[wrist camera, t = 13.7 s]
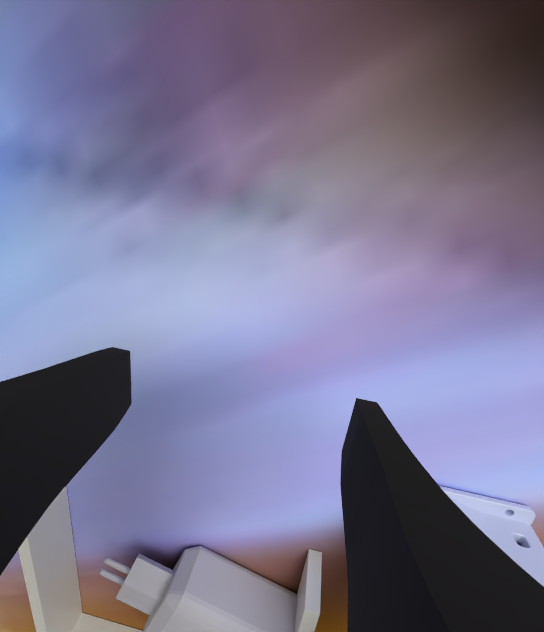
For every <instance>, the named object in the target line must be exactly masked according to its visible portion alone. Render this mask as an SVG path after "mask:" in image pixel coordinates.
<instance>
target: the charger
mask: <svg viewBox="0 0 544 632" xmlns="http://www.w3.org/2000/svg"><path fill="white" fill-rule="evenodd" d="M104 563H105V564H107V565H109V566H111V567H113V568H115V569H117V570H119V571H121V572H123V573H125V574H127V575H128V576H127V578H126V579H123V578H121V577H119V576H117V575H115V574H113V573H111V572H109V571H107V570H105V569H101V570H100V572H99V574H100V575H101V576H103V577H105V578H107V579H109V580H111V581H113V582H115V583H117V584H119V585H121V586H122V587H121V589H120V591H119V593H118V595H117V597H116V599H118V600H120V601H122V602H124V603H126V604H128V605H130V606H132V607H134V608H136V609H138V610H140V611H142V612H144V613H146V614H148V615H149V617H148V620H147V622H146V624H145V627H144V629H143V631H142V632H294V628H295V617H296V606H297V594H296V593H294V592H292V591H290V590H288V589H286V588H284V587H282V586H280V585H278V584H276V583H274V582H272V581H270V580H268V579H266V578H264V577H262V576H260V575H258V574H256V573H254V572H252V571H250V570H248V569H246V568H244V567H242V566H240V565H238V564H236V563H234V562H233V561H231V560H229V559H227V558H225V557H223V556H221V555H219V554H217V553H215V552H213V551H211V550H209V549H207V548H205V547H203V546H196V547H192V548H188V549H185V550H184V552H183V554H182V555H181V557H180V559H179V560H178V562H177V563H176V565H175V567H174V568H173V570H171V569H169V568H167V567H165V566H163V565H161V564H159V563H157V562H155V561H153V560H151V559H149V558H147V557H145V556H143V555H141V554H139V555H138V556H137V558H136V560H135V562H134V564H133V566H132V568H129V567H127V566H125V565H123V564H121V563H119V562H117V561H115V560H113V559H111V558H109V557H107V558H106V559H105V561H104Z"/></svg>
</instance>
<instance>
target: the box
mask: <svg viewBox="0 0 544 632" xmlns="http://www.w3.org/2000/svg"><path fill="white" fill-rule="evenodd" d="M18 551H19V555H20V560H21V564H22V569H23V574H24V578H25V583H26V587H27V592H28V596H29V601H30V605H31V610H32V614H33V619H34V623H35V628H36V632H142V630H138V629H135V628H132V627H128V626H125V625H121V624H118V623H115V622H111V621H108V620H105V619H101V618H98V617H95V616H91V615H88V614H84V613H83V612H82V605H81V597H80V589H79V581H78V573H77V565H76V557H75V549H74V541H73V534H72V526H71V518H70V510H69V502H68V494H67V486H65V487H64V488H63V490H62V491H61V492H60V493H59V494H58V496H57V497H56V498H55V499H54V501H53V502H52V503H51V504H50V506H49V507H48V508H47V510H46V511H45V513H44V514H43V515H42V517H41V518H40V519H39V521H38V522H37V524H36V525H35V526H34V528H33V529H32V530H31V532H30V533H29V535H28V536H27V537H26V539H25V540H24V542H23V543H22V545H21V546H20V547H19V549H18ZM321 568H322V552H319V551H315V550H311V549H309V550H308V554H307V558H306V562H305V566H304V569H303V573H302V577H301V581H300V584H299V588H298V592H297V606H296V617H295V628H294V632H314V631H315V628H316V625H317V622H318V618H319V615H320V600H321Z"/></svg>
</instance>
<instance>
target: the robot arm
mask: <svg viewBox="0 0 544 632" xmlns="http://www.w3.org/2000/svg"><path fill="white" fill-rule="evenodd" d="M130 405H131V367H130V351H128V350H123V349H118V348H114V347H111V348H107V349H103V350H99V351H96V352H93V353H90V354H87V355H84V356H81V357H78V358H75V359H72V360H69V361H66V362H63V363H60V364H57V365H54V366H51V367H48V368H45V369H42V370H38V371H35V372H32V373H28V374H25V375H22V376H18V377H15V378H12V379H9V380H5V381H2V382H0V575H1V574H2V572H3V571H4V569H5V568H6V566H7V565H8V563H9V562H10V561H11V559H12V558H13V556H14V555H15V553H16V552H17V550H18V549H19V547H20V546H21V545H22V543H23V542H24V540H25V539H26V537H27V536H28V535H29V533H30V532H31V530H32V529H33V528H34V526H35V525H36V524H37V522H38V521H39V519H40V518H41V517H42V515H43V514H44V513H45V511H46V510H47V508H48V507H49V506H50V504H51V503H52V502H53V501H54V499H55V498H56V497H57V496H58V494H59V493H60V492H61V491H62V490H63V488H64V487H65V486H66V485H67V484H68V483H69V482H70V480H71V479H72V478H73V477H74V476H75V475H76V474H77V472H78V471H79V470H80V469H81V468H82V467H83V466H84V465H85V463H86V462H87V461H88V460H89V459H90V458H91V457H92V455H93V454H94V453H95V452H96V451H97V450H98V449H99V447H100V446H101V445H102V444H103V443H104V442H105V440H106V439H107V438H108V437H109V436H110V434H111V433H112V432H113V431H114V430H115V428H116V427H117V425H118V424H119V422H120V421H121V419H122V418H123V416H124V415H125V413H126V412H127V410H128V408H129V407H130ZM341 496H342V509H343V521H344V533H345V545H346V557H347V573H348V632H544V547H543V546H542V544H541V542H540V540H539V539H538V537H537V535H536V533H535V532H534V530H533V528H532V526H531V524H532V522H533V520H534V519H535V513H534V511H533V510H532V508H530V507H528V506H525V505H520V504H516V503H512V502H507V501H503V500H499V499H494V498H490V497H486V496H481V495H477V494H472V493H468V492H464V491H459V490H455V489H451V488H446V487H442V486H439V485H438V484H437V483H436V482H435V481H434V479H433V478H432V477H431V476H430V474H429V473H428V472H427V471H426V470H425V468H424V467H423V466H422V465H421V463H420V462H419V461H418V460H417V458H416V457H415V456H414V454H413V453H412V452H411V450H410V449H409V448H408V446H407V445H406V444H405V442H404V441H403V440H402V438H401V437H400V435H399V434H398V432H397V431H396V430H395V428H394V427H393V425H392V424H391V422H390V421H389V419H388V418H387V416H386V415H385V413H384V412H383V410H382V409H381V407H380V406H379V405H378V403H377V402H372V401H367V400H362V399H358V398H356V401H355V405H354V409H353V412H352V416H351V420H350V423H349V427H348V431H347V434H346V438H345V442H344V445H343V449H342V459H341Z"/></svg>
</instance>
